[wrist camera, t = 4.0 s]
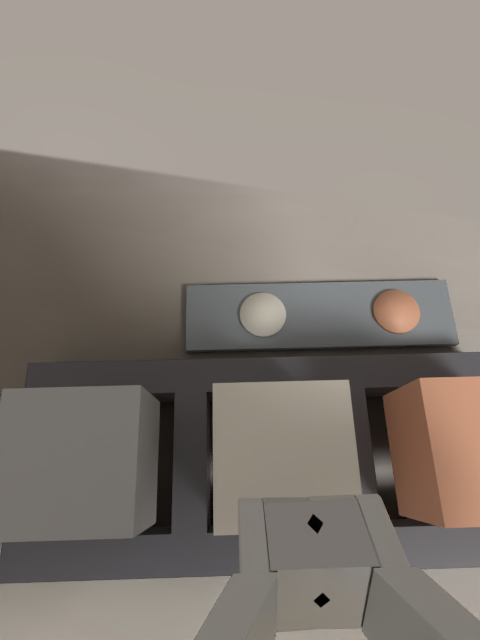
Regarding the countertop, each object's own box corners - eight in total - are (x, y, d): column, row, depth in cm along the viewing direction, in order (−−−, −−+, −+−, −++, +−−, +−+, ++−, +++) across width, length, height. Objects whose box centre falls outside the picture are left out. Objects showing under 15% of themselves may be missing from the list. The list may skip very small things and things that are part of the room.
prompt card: (442, 282, 23) (447, 278, 23) (455, 345, 22) (461, 342, 21) (187, 288, 23) (186, 283, 22) (186, 352, 22) (185, 349, 21)
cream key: (326, 397, 18) (348, 379, 14) (337, 517, 16) (366, 531, 13) (217, 400, 18) (212, 383, 14) (218, 521, 16) (213, 535, 13)
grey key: (160, 401, 18) (140, 384, 14) (156, 522, 16) (133, 538, 13) (49, 404, 18) (2, 388, 14) (35, 526, 16) (-23, 543, 12)
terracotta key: (489, 393, 18) (553, 374, 14) (516, 511, 16) (595, 523, 13) (382, 396, 18) (419, 377, 14) (399, 515, 16) (444, 528, 13)
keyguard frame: (474, 364, 22) (503, 351, 19) (515, 552, 19) (556, 564, 16) (51, 374, 21) (28, 363, 19) (27, 568, 18) (-4, 583, 16)
